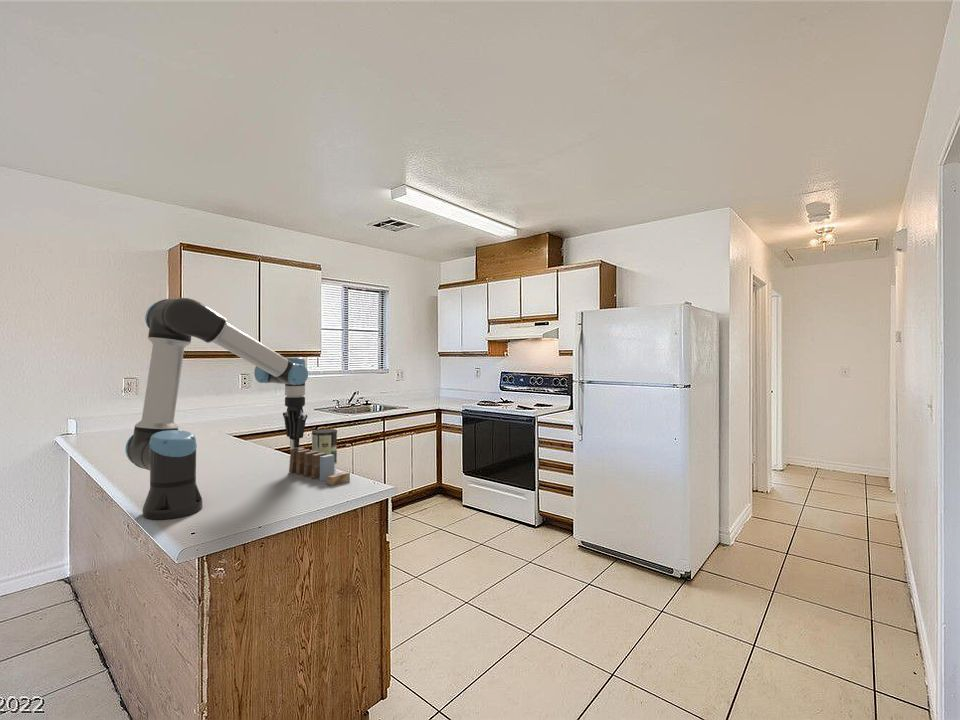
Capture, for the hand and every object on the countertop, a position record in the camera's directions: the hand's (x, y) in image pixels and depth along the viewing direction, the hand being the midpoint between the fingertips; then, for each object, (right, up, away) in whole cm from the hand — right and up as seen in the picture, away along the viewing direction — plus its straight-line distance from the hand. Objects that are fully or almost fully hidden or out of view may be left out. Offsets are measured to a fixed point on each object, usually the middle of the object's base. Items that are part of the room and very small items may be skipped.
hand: (294, 455), depth 194 cm
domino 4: (+13, -7, -9) cm, 17 cm away
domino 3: (+9, -7, -6) cm, 12 cm away
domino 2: (+5, -7, -3) cm, 9 cm away
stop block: (+22, -7, -15) cm, 27 cm away
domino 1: (+1, -6, 0) cm, 6 cm away
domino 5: (+16, -7, -11) cm, 21 cm away
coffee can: (+8, -6, +13) cm, 17 cm away
